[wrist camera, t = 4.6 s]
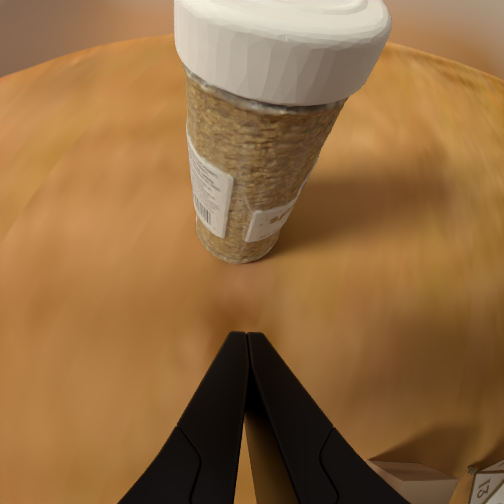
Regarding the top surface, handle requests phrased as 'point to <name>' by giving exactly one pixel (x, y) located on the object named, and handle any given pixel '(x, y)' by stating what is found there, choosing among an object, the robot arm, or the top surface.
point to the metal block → (416, 481)
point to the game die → (488, 484)
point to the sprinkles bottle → (266, 105)
